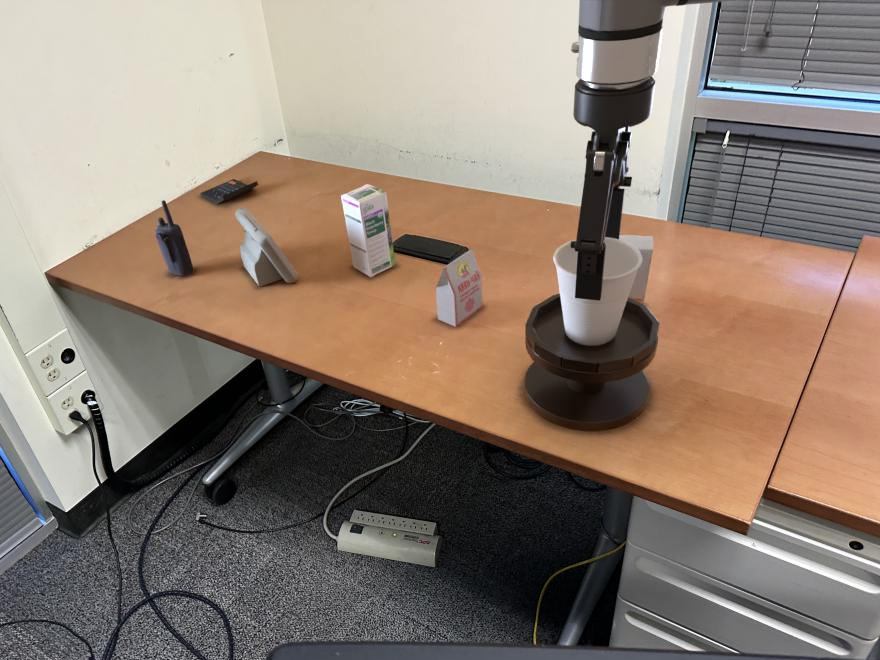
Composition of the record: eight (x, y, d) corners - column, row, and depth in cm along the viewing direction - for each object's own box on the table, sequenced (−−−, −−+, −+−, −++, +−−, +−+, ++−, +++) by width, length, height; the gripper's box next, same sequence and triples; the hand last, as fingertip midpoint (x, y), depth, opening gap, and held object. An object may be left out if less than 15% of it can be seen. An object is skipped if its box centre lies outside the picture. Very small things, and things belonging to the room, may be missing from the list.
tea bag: (437, 319, 110) (433, 264, 104) (464, 300, 113) (462, 246, 107) (455, 326, 108) (452, 271, 101) (482, 307, 111) (481, 252, 105)
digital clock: (300, 285, 124) (289, 232, 117) (251, 297, 123) (237, 244, 116) (286, 246, 136) (275, 196, 130) (241, 257, 135) (228, 206, 128)
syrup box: (371, 278, 122) (360, 202, 113) (352, 267, 126) (340, 193, 117) (396, 266, 125) (387, 190, 116) (376, 255, 129) (366, 182, 120)
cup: (548, 355, 84) (551, 278, 77) (550, 310, 92) (554, 236, 85) (633, 358, 82) (645, 279, 75) (629, 312, 89) (639, 235, 82)
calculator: (234, 182, 166) (231, 170, 164) (260, 193, 158) (257, 181, 156) (201, 196, 161) (197, 184, 160) (226, 208, 154) (223, 196, 152)
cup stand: (654, 363, 95) (666, 296, 88) (639, 442, 84) (651, 372, 77) (538, 347, 101) (541, 283, 94) (511, 418, 90) (511, 351, 83)
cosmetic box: (600, 317, 105) (607, 247, 97) (602, 302, 108) (609, 233, 100) (642, 320, 103) (653, 249, 95) (643, 304, 106) (653, 235, 98)
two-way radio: (198, 269, 133) (174, 197, 124) (185, 281, 130) (159, 208, 121) (176, 266, 136) (151, 195, 126) (162, 278, 133) (135, 206, 123)
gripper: (596, 42, 77) (584, 216, 90) (548, 123, 60) (542, 322, 74) (668, 40, 74) (645, 219, 87) (639, 124, 57) (615, 331, 71)
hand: (598, 266), depth 81 cm, fingers open, 13 cm apart
